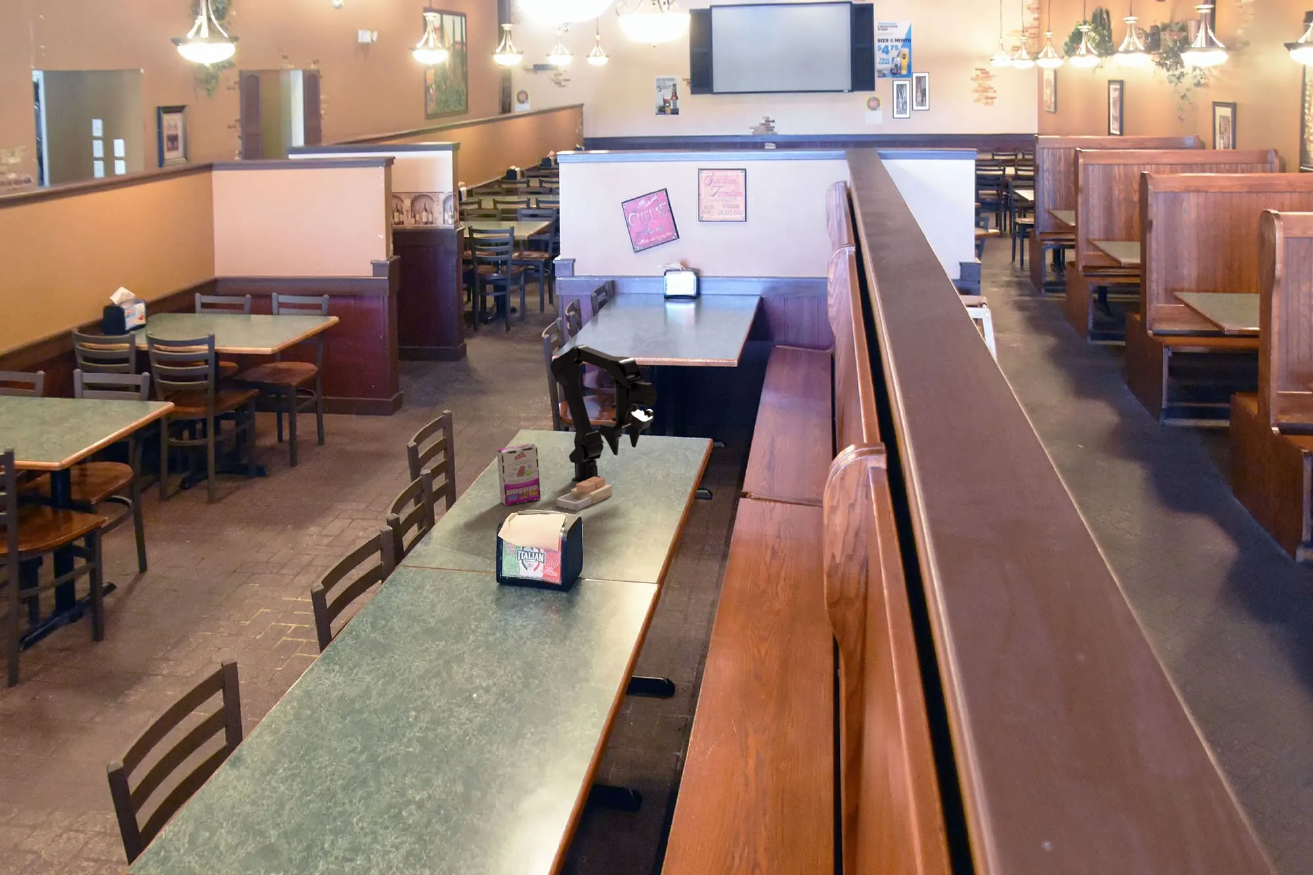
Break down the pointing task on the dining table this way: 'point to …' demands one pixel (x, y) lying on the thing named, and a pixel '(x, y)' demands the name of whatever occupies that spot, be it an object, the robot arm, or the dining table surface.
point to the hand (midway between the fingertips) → (624, 451)
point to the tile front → (585, 486)
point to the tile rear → (597, 481)
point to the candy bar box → (518, 474)
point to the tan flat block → (594, 493)
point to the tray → (573, 502)
